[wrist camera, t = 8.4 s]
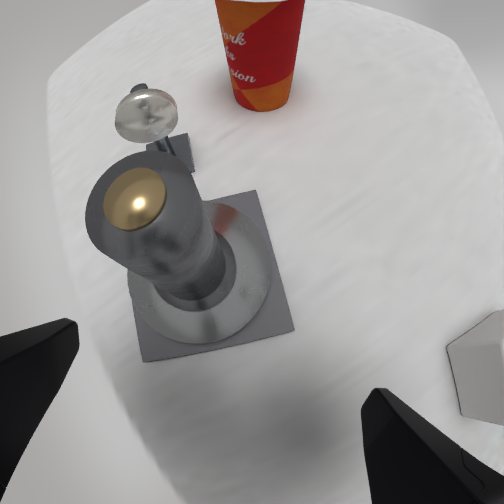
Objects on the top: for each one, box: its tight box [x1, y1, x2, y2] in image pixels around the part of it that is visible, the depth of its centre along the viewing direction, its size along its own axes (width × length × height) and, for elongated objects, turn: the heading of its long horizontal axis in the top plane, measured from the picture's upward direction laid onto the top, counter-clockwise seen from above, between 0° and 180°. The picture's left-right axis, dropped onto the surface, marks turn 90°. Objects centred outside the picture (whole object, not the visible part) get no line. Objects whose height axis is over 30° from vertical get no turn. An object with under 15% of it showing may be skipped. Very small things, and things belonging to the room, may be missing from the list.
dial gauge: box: [115, 84, 195, 173], centre depth 20 cm, size 4×4×9 cm
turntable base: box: [132, 190, 295, 362], centre depth 21 cm, size 11×11×1 cm
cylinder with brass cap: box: [85, 151, 237, 312], centre depth 14 cm, size 6×6×10 cm
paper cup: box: [215, 0, 305, 112], centre depth 20 cm, size 8×8×14 cm
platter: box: [127, 201, 270, 343], centre depth 20 cm, size 11×10×1 cm
